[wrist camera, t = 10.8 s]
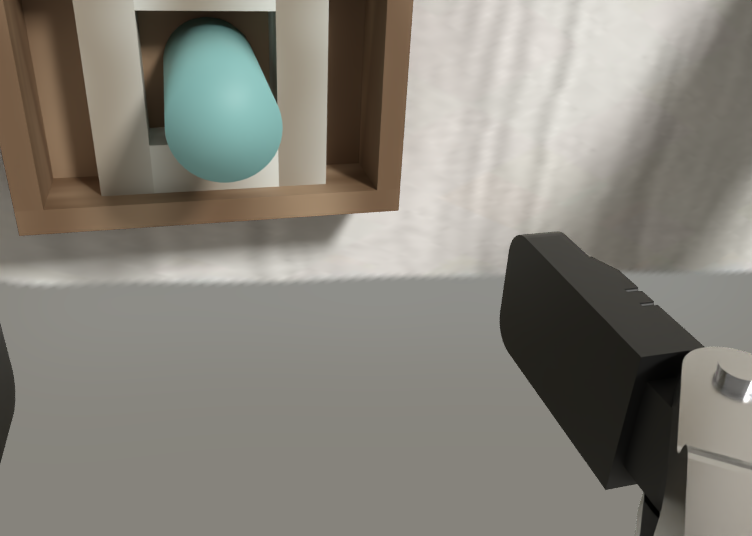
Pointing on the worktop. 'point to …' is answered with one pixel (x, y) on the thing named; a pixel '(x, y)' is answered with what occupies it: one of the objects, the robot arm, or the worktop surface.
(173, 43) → the peg
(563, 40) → the worktop surface
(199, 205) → the box
